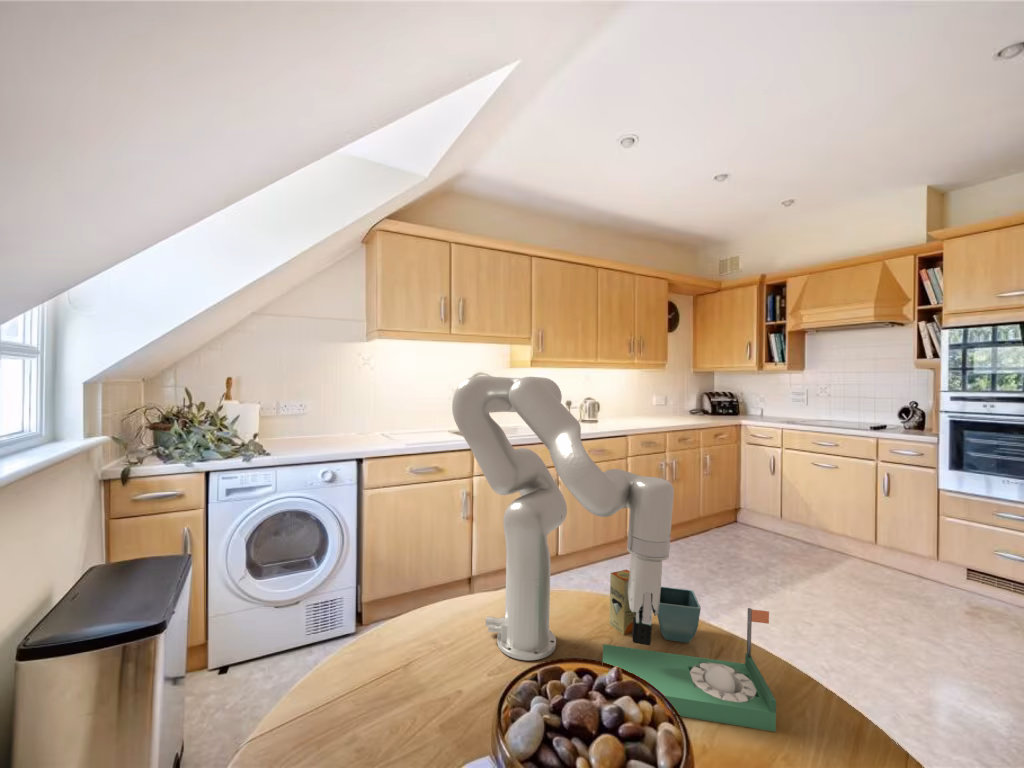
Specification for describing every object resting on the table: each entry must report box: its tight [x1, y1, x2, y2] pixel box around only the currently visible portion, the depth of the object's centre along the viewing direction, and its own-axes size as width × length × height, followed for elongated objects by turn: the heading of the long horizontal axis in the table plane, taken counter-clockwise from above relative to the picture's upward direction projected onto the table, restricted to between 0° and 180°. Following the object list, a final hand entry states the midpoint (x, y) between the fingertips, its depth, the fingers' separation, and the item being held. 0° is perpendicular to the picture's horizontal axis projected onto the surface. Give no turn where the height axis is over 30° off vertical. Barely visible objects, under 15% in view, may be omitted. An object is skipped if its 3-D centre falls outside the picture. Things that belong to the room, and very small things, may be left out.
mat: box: [602, 643, 777, 733], centre depth 81 cm, size 28×13×5 cm, turn 78°
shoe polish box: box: [608, 569, 635, 636], centre depth 102 cm, size 5×5×12 cm
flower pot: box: [656, 586, 701, 644], centre depth 99 cm, size 9×9×9 cm
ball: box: [705, 666, 735, 694], centre depth 79 cm, size 5×5×5 cm
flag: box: [746, 607, 770, 667], centre depth 83 cm, size 4×1×14 cm, turn 78°
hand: (641, 641), depth 82 cm, fingers closed
